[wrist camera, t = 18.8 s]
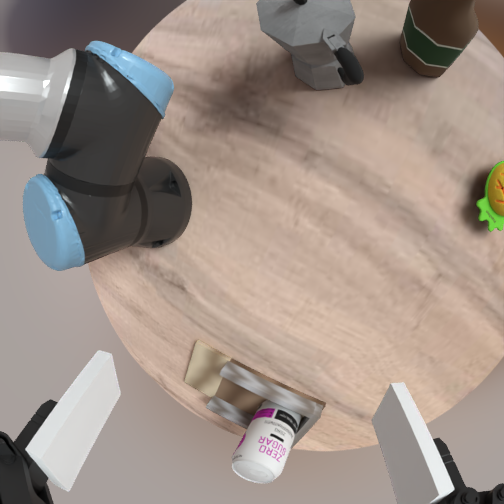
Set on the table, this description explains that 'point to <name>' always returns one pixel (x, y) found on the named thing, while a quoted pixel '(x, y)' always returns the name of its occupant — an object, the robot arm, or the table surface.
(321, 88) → the coffeepot
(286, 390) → the rectangular tray
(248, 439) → the supplement can
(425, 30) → the beer bottle
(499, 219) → the pineapple toy
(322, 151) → the table surface
